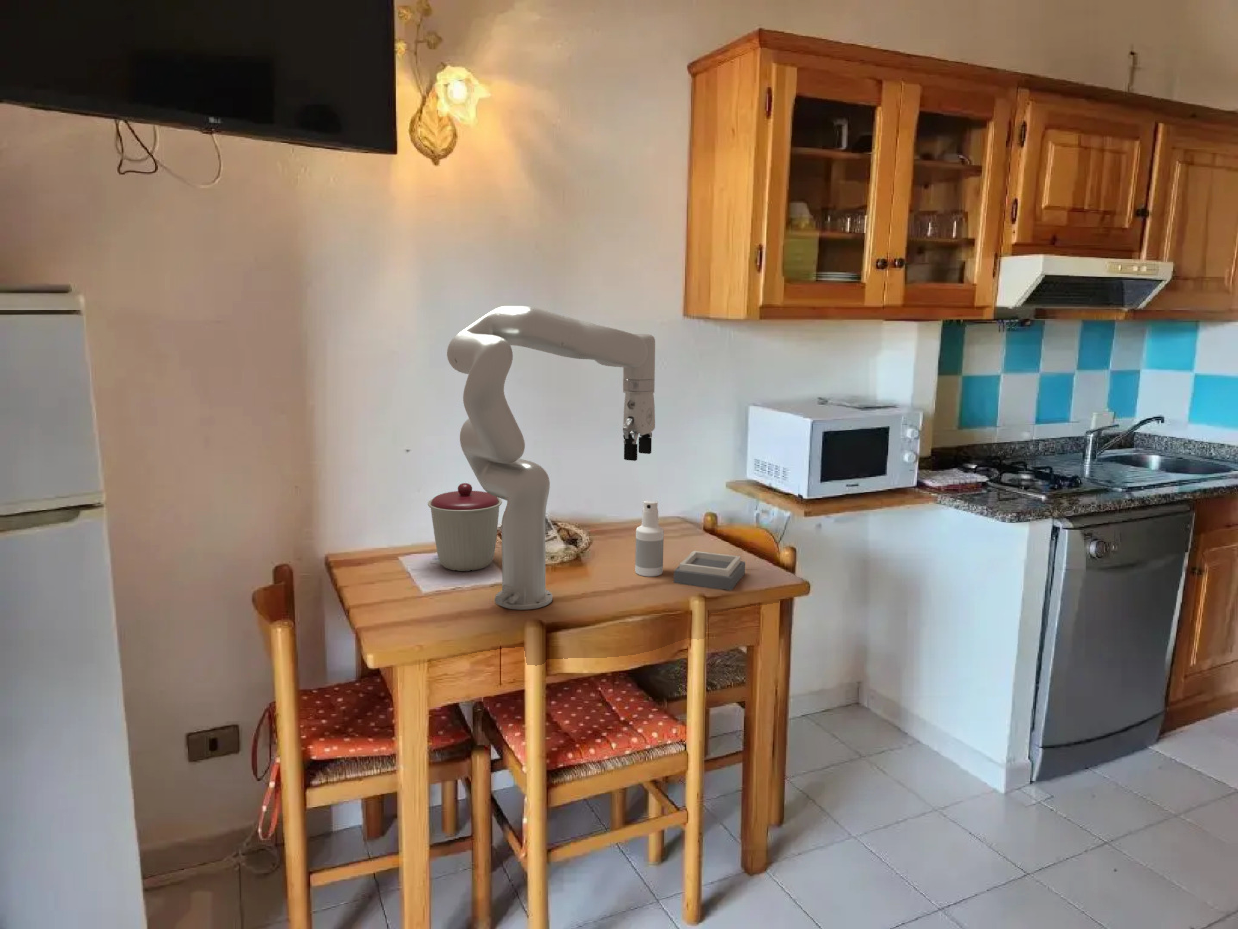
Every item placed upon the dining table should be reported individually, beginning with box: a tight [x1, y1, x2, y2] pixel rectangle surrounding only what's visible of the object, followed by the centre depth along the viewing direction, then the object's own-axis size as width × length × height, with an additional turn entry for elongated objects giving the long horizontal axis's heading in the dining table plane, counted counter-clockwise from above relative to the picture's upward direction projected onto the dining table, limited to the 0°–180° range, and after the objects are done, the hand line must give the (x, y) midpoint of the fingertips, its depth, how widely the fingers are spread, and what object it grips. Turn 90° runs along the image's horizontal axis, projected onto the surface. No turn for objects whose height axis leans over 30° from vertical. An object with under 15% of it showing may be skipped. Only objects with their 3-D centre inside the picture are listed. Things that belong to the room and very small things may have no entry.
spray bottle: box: [634, 500, 665, 578], centre depth 208 cm, size 7×7×18 cm
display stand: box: [673, 550, 746, 591], centre depth 206 cm, size 14×14×4 cm
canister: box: [427, 482, 503, 572], centre depth 211 cm, size 18×18×21 cm
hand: (637, 456), depth 206 cm, fingers open, 9 cm apart
